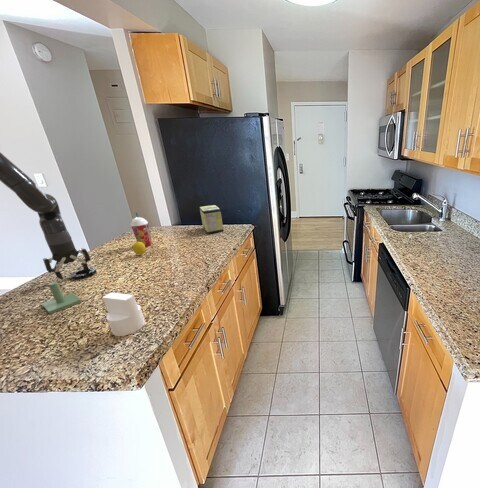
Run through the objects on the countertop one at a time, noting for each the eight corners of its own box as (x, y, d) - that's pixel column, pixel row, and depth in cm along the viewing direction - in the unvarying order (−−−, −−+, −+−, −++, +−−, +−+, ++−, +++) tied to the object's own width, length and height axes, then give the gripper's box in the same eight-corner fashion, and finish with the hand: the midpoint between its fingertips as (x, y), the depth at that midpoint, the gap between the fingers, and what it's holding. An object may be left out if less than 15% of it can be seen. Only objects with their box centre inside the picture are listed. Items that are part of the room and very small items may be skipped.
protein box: (218, 225, 188) (214, 204, 182) (224, 231, 176) (220, 209, 170) (202, 228, 182) (198, 206, 176) (207, 234, 170) (203, 211, 165)
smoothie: (156, 242, 157) (148, 210, 150) (149, 248, 149) (139, 214, 142) (142, 243, 157) (133, 210, 149) (133, 248, 149) (123, 214, 141)
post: (49, 314, 93) (39, 292, 89) (42, 306, 97) (32, 285, 94) (81, 302, 100) (72, 281, 96) (73, 295, 104) (64, 275, 101)
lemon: (132, 256, 138) (128, 242, 135) (141, 252, 143) (137, 239, 140) (141, 257, 137) (136, 243, 134) (149, 253, 142) (146, 240, 139)
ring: (75, 281, 114) (74, 278, 114) (69, 276, 119) (68, 273, 118) (99, 273, 121) (97, 270, 120) (92, 269, 125) (91, 266, 125)
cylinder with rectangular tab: (105, 334, 83) (92, 302, 79) (129, 316, 91) (119, 287, 87) (129, 337, 82) (117, 306, 77) (151, 319, 90) (142, 290, 85)
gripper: (77, 234, 118) (90, 266, 124) (33, 244, 107) (49, 279, 113) (83, 237, 114) (96, 270, 120) (38, 248, 103) (55, 283, 109)
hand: (74, 274), depth 117 cm, fingers open, 8 cm apart
